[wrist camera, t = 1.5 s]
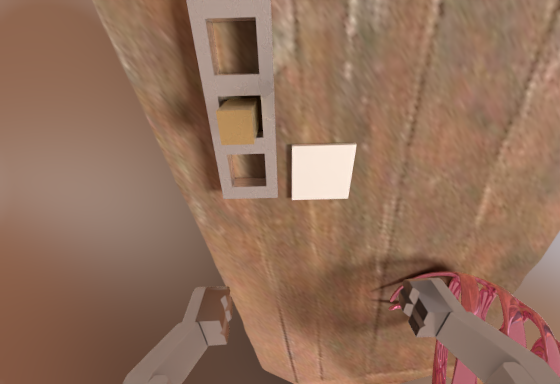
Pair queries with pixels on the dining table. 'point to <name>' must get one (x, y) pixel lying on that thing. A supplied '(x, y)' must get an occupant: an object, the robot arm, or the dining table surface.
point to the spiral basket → (478, 304)
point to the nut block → (238, 121)
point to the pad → (322, 170)
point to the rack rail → (238, 90)
